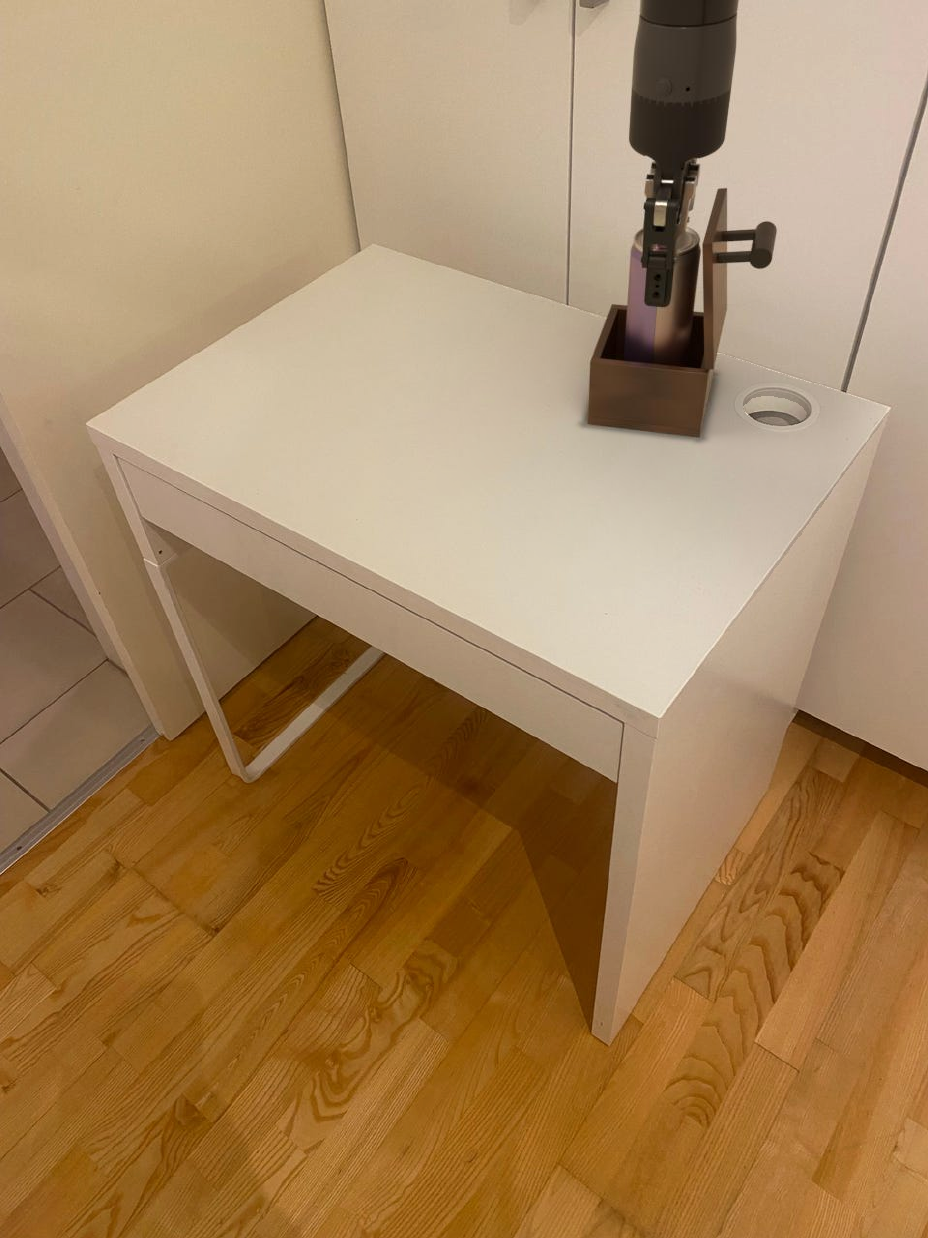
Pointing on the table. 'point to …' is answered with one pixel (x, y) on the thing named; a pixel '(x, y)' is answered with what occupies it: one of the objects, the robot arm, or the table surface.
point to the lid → (717, 267)
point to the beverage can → (662, 328)
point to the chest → (647, 384)
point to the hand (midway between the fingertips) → (662, 285)
